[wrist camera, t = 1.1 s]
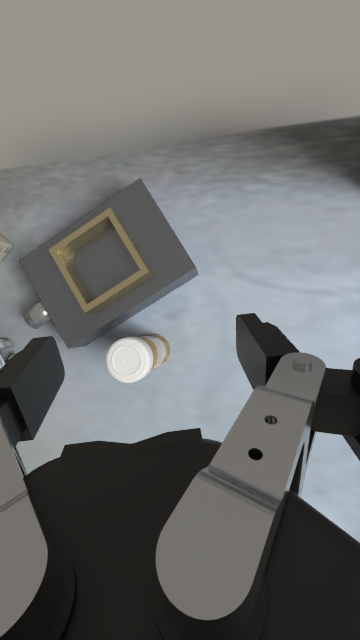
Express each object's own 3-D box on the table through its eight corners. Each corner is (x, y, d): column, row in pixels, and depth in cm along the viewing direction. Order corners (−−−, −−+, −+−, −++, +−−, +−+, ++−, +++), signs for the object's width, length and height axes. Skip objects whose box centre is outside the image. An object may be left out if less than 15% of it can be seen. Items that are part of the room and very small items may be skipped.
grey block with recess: (149, 195, 41) (135, 169, 34) (198, 274, 40) (194, 263, 33) (21, 282, 44) (-16, 273, 37) (63, 359, 42) (34, 365, 35)
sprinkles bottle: (137, 361, 41) (99, 377, 28) (144, 330, 41) (109, 332, 28) (167, 368, 40) (143, 389, 27) (174, 337, 40) (153, 343, 27)
